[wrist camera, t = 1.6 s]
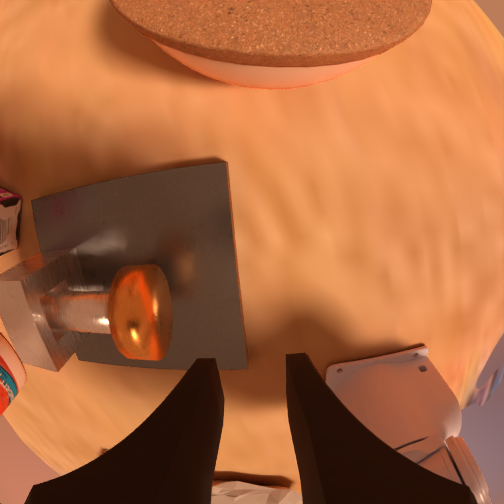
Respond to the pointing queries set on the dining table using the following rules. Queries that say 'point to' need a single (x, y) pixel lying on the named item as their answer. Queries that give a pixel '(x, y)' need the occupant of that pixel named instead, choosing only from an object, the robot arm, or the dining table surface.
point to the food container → (252, 493)
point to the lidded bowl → (275, 36)
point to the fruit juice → (9, 374)
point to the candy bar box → (9, 220)
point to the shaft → (120, 311)
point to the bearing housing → (134, 253)
